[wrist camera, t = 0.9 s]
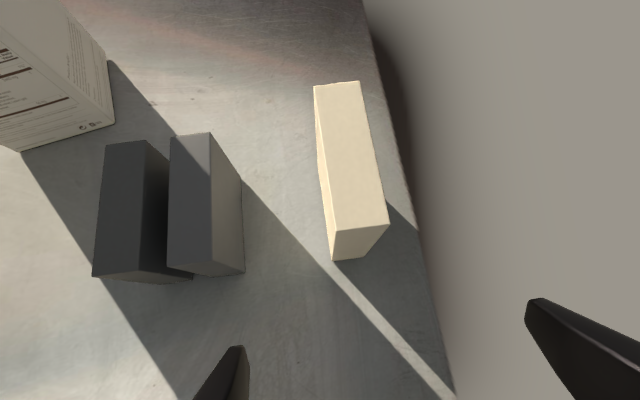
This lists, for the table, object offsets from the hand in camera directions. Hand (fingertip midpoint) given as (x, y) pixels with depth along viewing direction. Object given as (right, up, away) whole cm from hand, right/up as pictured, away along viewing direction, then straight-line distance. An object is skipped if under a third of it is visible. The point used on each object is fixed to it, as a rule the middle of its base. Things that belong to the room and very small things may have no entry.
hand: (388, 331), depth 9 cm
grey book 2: (-13, +2, +14) cm, 20 cm away
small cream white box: (-1, +3, +15) cm, 15 cm away
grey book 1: (-10, +2, +15) cm, 18 cm away
